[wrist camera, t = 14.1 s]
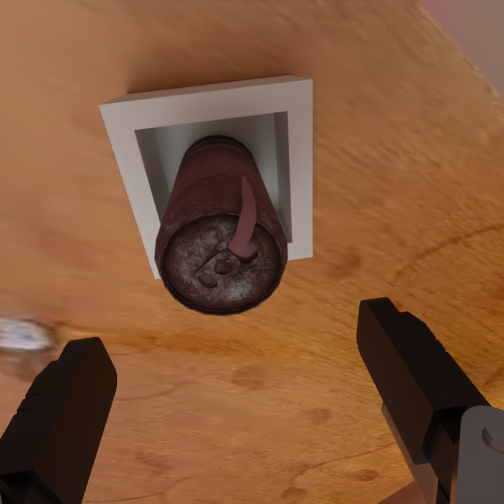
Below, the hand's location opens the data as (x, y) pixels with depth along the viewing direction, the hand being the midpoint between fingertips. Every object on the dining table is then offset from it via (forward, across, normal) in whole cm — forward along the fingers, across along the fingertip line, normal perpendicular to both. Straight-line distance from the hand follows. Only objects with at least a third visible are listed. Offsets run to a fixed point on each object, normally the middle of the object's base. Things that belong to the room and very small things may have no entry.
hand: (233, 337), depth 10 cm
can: (+18, 0, 0) cm, 19 cm away
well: (+19, 0, 0) cm, 19 cm away
